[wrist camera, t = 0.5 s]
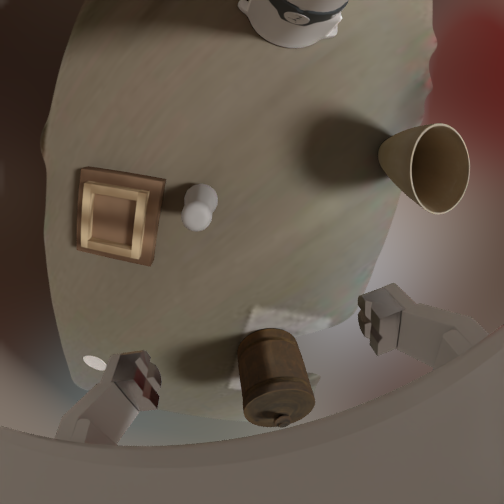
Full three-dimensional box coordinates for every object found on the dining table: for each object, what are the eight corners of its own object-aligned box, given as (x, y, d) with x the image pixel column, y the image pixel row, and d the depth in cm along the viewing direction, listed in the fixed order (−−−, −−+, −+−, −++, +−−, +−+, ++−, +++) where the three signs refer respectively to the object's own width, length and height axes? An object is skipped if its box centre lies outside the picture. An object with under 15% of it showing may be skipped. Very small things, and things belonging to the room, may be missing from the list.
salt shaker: (182, 209, 49) (170, 233, 37) (189, 178, 47) (178, 193, 35) (214, 215, 50) (212, 242, 38) (221, 185, 48) (221, 202, 36)
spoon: (142, 382, 66) (142, 384, 66) (84, 363, 62) (83, 364, 62) (144, 371, 65) (143, 373, 64) (83, 351, 60) (82, 352, 60)
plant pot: (356, 123, 45) (405, 123, 31) (414, 120, 45) (467, 124, 31) (365, 197, 51) (411, 222, 37) (419, 187, 52) (469, 207, 37)
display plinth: (88, 166, 43) (76, 170, 38) (166, 179, 46) (160, 183, 42) (82, 244, 49) (72, 254, 44) (153, 259, 52) (148, 271, 47)
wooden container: (233, 369, 66) (240, 442, 46) (241, 326, 61) (252, 405, 41) (289, 370, 69) (308, 438, 49) (303, 328, 63) (332, 401, 43)
